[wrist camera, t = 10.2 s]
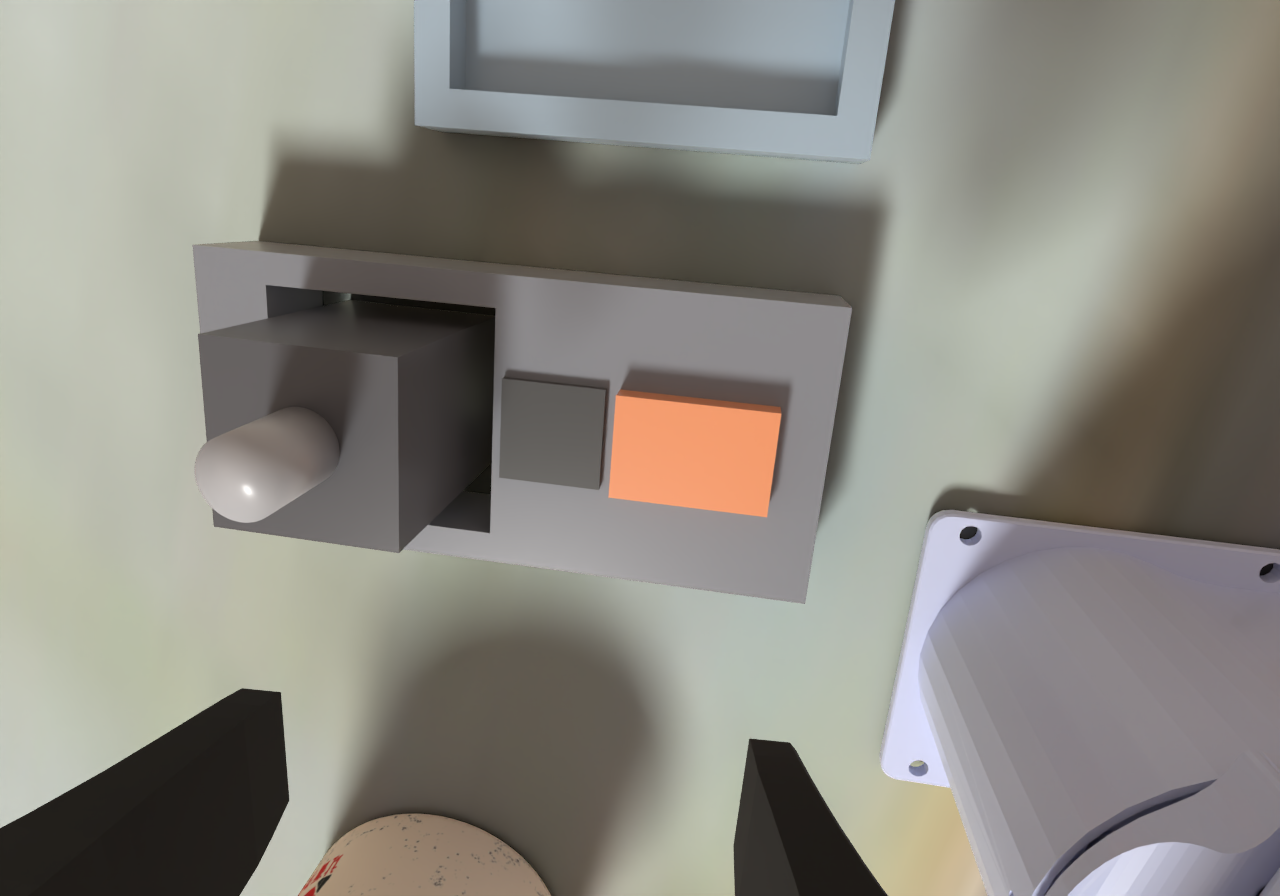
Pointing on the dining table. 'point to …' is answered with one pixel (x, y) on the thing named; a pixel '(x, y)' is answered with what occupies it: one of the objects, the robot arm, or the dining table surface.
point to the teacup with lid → (422, 861)
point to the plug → (345, 420)
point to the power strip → (608, 410)
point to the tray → (657, 73)
